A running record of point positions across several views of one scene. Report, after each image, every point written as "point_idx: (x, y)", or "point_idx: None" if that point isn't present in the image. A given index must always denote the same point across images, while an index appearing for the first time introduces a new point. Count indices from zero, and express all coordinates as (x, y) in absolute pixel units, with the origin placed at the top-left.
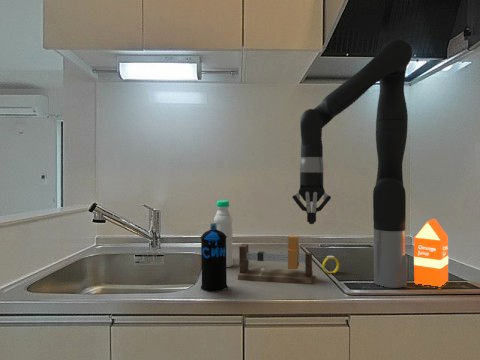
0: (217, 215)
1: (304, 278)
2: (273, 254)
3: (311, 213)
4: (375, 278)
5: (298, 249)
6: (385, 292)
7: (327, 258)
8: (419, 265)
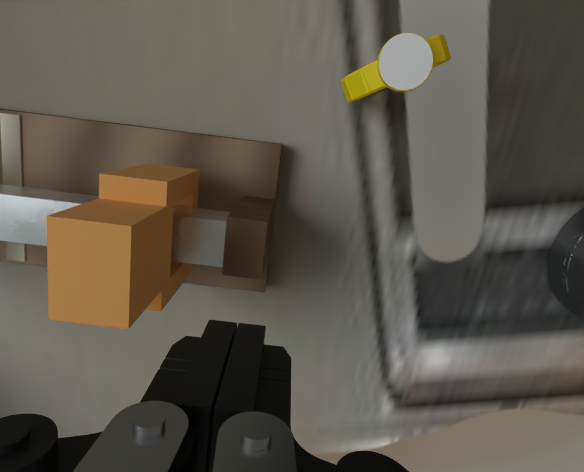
0: None
1: (235, 283)
2: (18, 240)
3: (207, 465)
4: (563, 281)
5: (170, 208)
6: (545, 368)
7: (380, 80)
8: None
